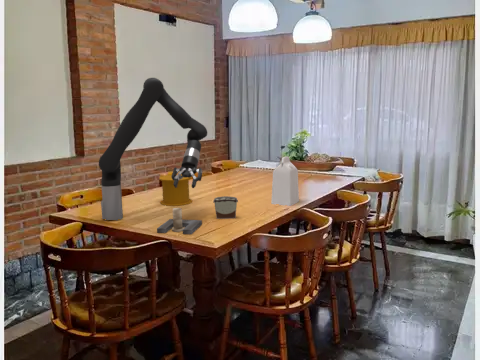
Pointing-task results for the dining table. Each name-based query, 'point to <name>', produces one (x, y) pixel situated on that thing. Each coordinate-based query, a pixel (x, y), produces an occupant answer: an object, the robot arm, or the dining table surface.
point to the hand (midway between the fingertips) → (184, 187)
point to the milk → (285, 184)
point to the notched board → (188, 224)
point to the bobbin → (177, 220)
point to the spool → (175, 191)
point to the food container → (225, 207)
